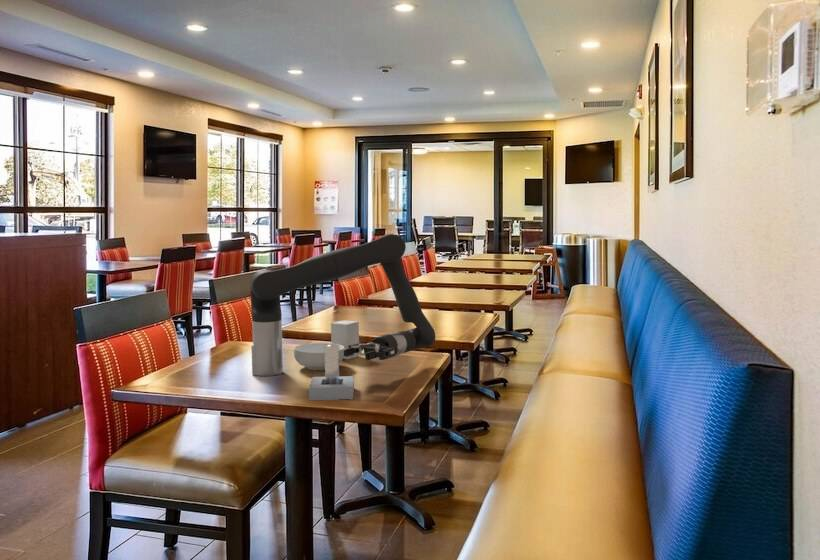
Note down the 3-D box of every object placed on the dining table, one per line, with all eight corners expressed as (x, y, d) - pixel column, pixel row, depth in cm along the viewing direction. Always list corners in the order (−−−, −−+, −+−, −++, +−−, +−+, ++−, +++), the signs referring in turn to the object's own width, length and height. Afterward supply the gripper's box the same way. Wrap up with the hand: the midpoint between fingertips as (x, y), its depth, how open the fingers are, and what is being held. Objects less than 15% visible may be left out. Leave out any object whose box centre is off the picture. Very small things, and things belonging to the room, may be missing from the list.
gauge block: (309, 400, 179) (308, 387, 179) (312, 388, 191) (312, 376, 191) (352, 399, 180) (352, 387, 179) (353, 387, 192) (353, 376, 191)
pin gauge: (325, 395, 183) (323, 347, 182) (325, 392, 187) (324, 344, 186) (339, 395, 184) (338, 346, 182) (339, 391, 188) (338, 343, 186)
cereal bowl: (349, 372, 211) (348, 350, 210) (297, 375, 206) (297, 353, 206) (339, 360, 227) (339, 340, 226) (291, 363, 223) (291, 343, 222)
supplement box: (360, 356, 234) (359, 321, 233) (347, 360, 228) (346, 324, 227) (343, 353, 238) (343, 319, 237) (330, 357, 232) (330, 322, 231)
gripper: (371, 331, 209) (337, 339, 196) (407, 336, 200) (373, 345, 188) (372, 354, 210) (337, 364, 197) (407, 360, 201) (373, 370, 188)
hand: (355, 354), depth 192 cm, fingers open, 8 cm apart
